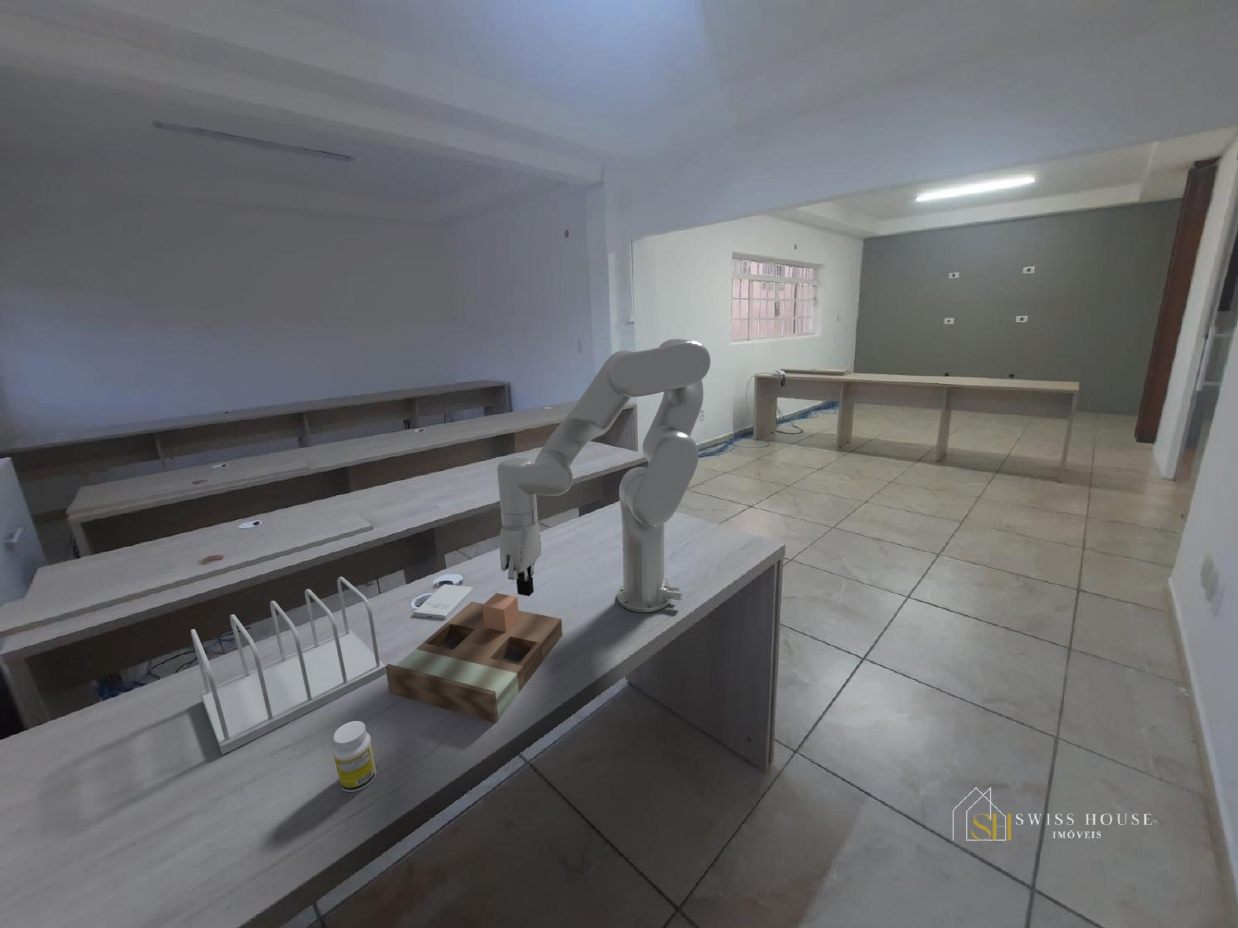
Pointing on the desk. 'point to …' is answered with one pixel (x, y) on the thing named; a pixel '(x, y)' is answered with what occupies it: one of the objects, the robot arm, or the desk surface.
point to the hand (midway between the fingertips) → (525, 593)
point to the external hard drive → (443, 602)
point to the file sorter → (287, 678)
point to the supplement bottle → (354, 756)
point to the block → (500, 612)
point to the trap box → (475, 663)
